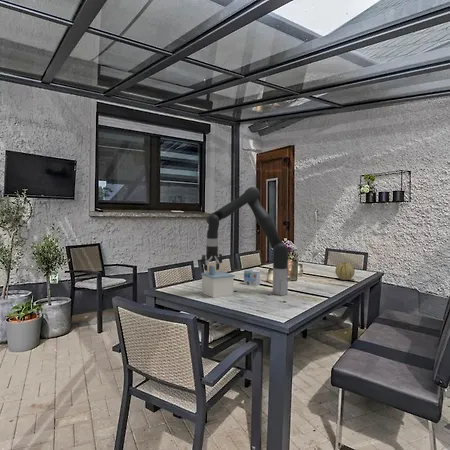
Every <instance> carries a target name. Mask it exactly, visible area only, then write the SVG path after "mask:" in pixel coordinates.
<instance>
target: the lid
mask: <svg viewBox="0 0 450 450" xmlns="http://www.w3.org/2000/svg"><path fill="white" fill-rule="evenodd" d="M215 270H216V266H214V265H209V266H208V271H205V272H200V275H201V276H202V275H203V276H206V277H209V278H211V279H219V278H228V277H233V278H235V274H233V273H229V272H226V271H223V270H217V271H215Z"/></svg>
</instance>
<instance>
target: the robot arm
mask: <svg viewBox="0 0 450 450" xmlns="http://www.w3.org/2000/svg"><path fill="white" fill-rule="evenodd" d="M260 195H261V194H260V190H259V189H258V188H257V187H255V186H251V187H248V188H247V189H245V191H244V193H242V194H241V195H240V196H238V197H237V198H235V199H234V200H232V201H229V203H226V204H225V205H224V206H222V207H221V208H219V209H218V210H216V211H214V212H212V213H210V214H209V215H207V217H206V223H207V224H208V229H207V232H206V243H205V244H206V246H205V247H206V251H205V252H206V254H201V262H200V263H201V264H202V265H203V270H204V271H205V272H208V264H209V263H210V262H215V263H216V264H215V270H217V271H220V270H219V269H220V264H222V263H223V254H222V253H219V227H220V221H221V220H223V219H227V218H228V217H229V216H231V215H232V214H234V213H235V212H236V211H238V210H239V209H241V208H242V207H244V206H245V205H247V204H248V206H249V207H250V209H251V211H252V213H253V215H254V218H255V219H256V221H257V224H258V225H259V228H260V229H261V231H262V233H263V234H264V235H265V237H266V238H267V240H268V241H269V244H270V246H271V248H272V252H273V265H272V294H273V295H275V296H277V295H278V296H285V295H288V292H289V289H288V287H289V286H288V284H289V280H288V277H287V276H288V264H289V263H288V261H289V250H288V249H289V248H288V247H287V246H286V245H285V243H284V242H283V240H282V238H280V235H279V233H278V231H277V228H276V225H275V222H274V221H273V219H272V216H271V215H270V213H269V212H268V211H266V209H265V208H264V207H263V206H262V204H261V203H260V200H259V198H260Z"/></svg>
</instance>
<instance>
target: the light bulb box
mask: <svg viewBox="0 0 450 450" xmlns="http://www.w3.org/2000/svg"><path fill="white" fill-rule="evenodd" d="M243 285H244V286H245V285H247V286H251V287H258V286H260V285H261V270H259V269H250V268H249V269H248V268H247V269H244V271H243Z"/></svg>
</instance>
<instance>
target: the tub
mask: <svg viewBox="0 0 450 450" xmlns="http://www.w3.org/2000/svg"><path fill="white" fill-rule="evenodd" d="M201 293H202V294H204V295H207V296H209V297H210V296H211V297H210V298H212V297H213V299H215V298H221V297H223V298H224V297H229V296H234V277H228V278H219V279H211V278H209V277H206V276H203V275H201Z"/></svg>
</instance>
